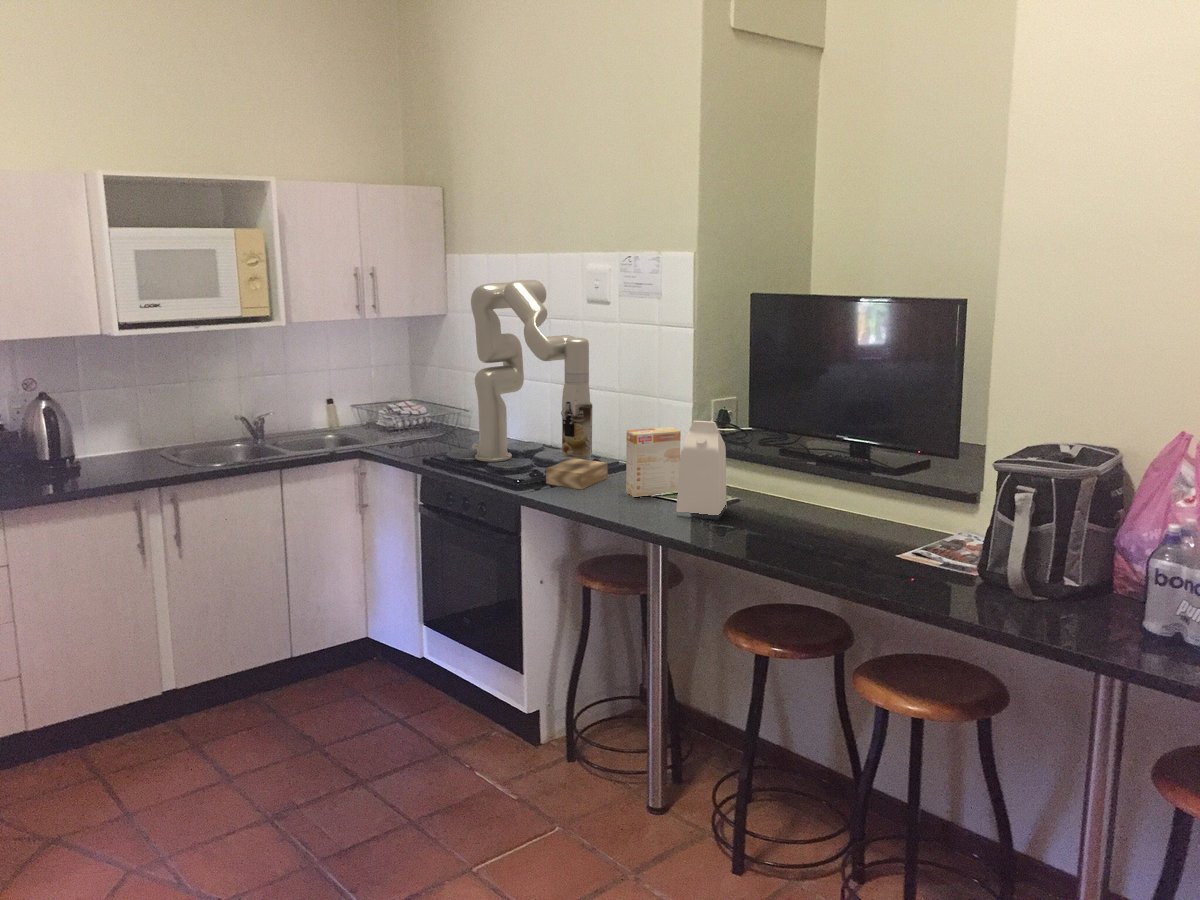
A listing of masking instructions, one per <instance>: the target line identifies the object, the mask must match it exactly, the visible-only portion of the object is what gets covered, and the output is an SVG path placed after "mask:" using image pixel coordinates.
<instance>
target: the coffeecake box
mask: <svg viewBox="0 0 1200 900" xmlns="http://www.w3.org/2000/svg"><path fill="white" fill-rule="evenodd" d="M681 433H682V432H681V430H680V429H677V428H675V426H674V427H673V426H665V427H652V428H638V429H627V430H626V445H625V446H626V448H625V449H626V451H625V453H626V457H625V458H626V466H625V467H626V468H625V470H626V472H625V473H626V479H625V480H626V481H625V482H626V484H625V485H626V487H625V489H626V491H625V492H627V493H629V494H630V495H629V494H628V495H629V496H631V495H632V496H633V497H638V496H648V495H654V494H661V493H666V492H672V491H678V481H679V468H680V454H681ZM632 496H631V497H632ZM633 497H632V498H633Z"/></svg>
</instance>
